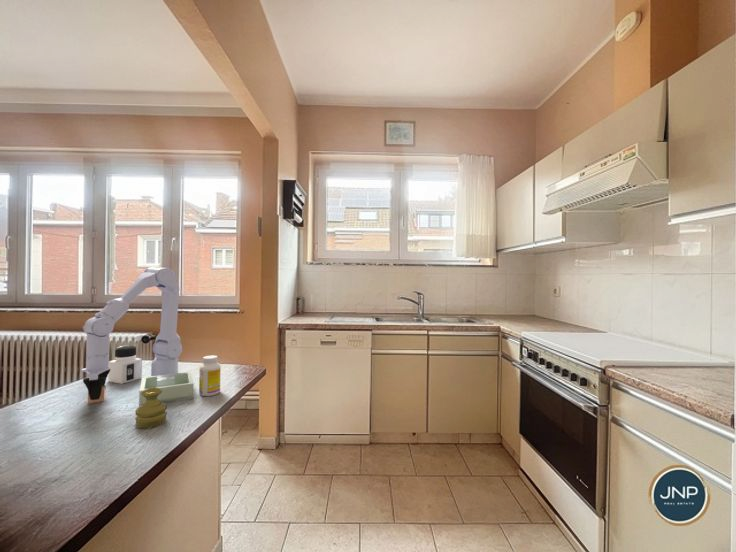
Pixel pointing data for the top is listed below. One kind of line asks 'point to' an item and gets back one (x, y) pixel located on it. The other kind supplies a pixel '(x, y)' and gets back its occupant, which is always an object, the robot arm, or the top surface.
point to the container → (125, 365)
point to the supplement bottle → (209, 376)
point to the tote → (170, 388)
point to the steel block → (165, 380)
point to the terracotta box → (102, 396)
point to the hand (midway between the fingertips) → (97, 395)
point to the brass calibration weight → (151, 410)
